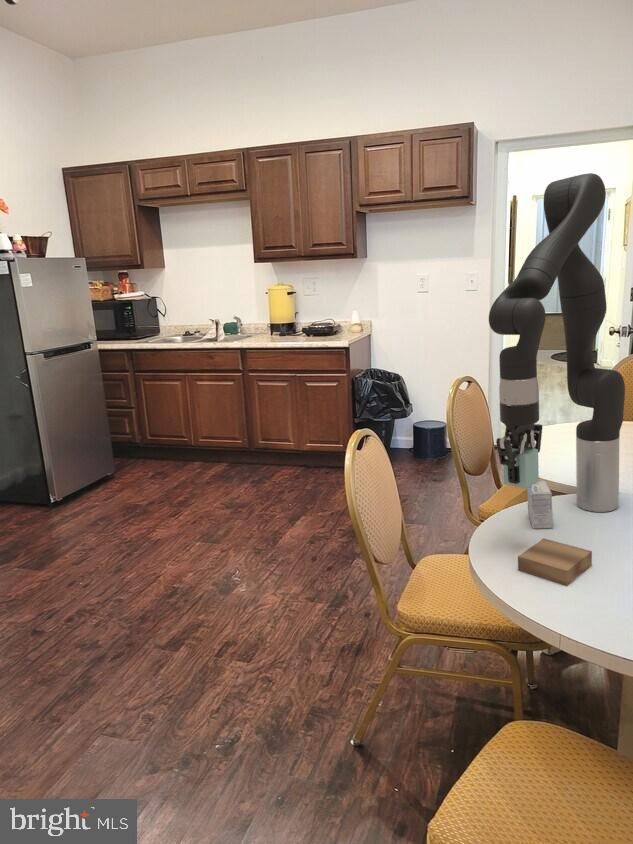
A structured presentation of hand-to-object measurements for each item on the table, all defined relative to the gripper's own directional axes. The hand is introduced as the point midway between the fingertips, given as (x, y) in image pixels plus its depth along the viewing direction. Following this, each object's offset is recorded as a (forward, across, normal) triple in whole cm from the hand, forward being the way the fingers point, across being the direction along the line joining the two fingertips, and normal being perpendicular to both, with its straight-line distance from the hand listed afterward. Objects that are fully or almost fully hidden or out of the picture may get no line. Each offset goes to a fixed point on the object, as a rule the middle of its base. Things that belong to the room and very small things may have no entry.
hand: (521, 478), depth 126 cm
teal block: (+1, 0, 0) cm, 1 cm away
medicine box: (+16, -13, -3) cm, 21 cm away
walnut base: (+15, +5, +10) cm, 19 cm away
